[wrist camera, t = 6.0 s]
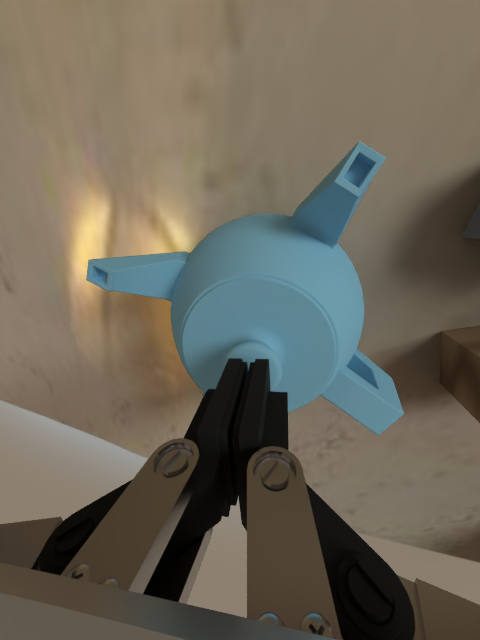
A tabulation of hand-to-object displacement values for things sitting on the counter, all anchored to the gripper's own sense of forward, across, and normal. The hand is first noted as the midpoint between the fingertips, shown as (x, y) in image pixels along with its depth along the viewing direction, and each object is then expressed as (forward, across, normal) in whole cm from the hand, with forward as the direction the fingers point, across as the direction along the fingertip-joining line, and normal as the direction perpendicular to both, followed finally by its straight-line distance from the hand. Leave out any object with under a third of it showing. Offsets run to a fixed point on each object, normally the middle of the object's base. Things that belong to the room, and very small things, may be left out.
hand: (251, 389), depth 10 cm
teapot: (+12, 0, 0) cm, 12 cm away
